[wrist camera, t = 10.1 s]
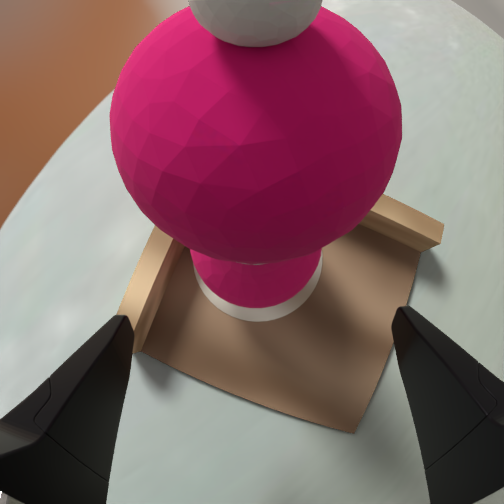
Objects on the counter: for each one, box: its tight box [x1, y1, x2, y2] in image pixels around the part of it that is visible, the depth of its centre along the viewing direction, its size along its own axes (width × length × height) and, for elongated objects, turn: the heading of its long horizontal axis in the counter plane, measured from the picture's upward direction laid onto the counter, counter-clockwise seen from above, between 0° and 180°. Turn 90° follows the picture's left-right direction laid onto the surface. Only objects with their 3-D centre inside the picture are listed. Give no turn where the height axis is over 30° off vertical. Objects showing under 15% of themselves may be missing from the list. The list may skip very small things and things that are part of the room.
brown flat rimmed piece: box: [117, 194, 444, 434], centre depth 20 cm, size 16×18×4 cm
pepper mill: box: [110, 0, 402, 308], centre depth 12 cm, size 7×7×20 cm
